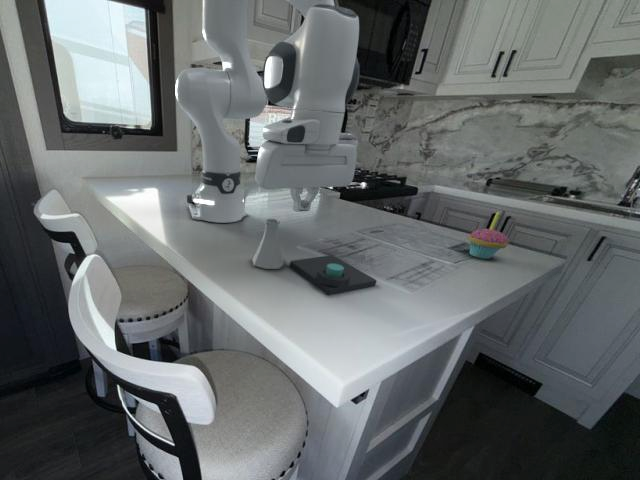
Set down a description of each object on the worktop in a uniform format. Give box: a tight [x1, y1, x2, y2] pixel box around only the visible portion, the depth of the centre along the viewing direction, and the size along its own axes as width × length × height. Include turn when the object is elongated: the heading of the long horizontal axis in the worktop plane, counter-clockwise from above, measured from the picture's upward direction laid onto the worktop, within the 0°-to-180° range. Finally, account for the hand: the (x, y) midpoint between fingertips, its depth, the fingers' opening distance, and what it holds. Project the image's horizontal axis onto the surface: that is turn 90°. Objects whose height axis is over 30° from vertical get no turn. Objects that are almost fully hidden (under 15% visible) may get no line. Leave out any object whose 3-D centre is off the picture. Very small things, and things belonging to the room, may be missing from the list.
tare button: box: [326, 264, 344, 278], centre depth 60 cm, size 3×3×2 cm
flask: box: [252, 218, 285, 270], centre depth 67 cm, size 7×7×10 cm
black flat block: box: [289, 254, 378, 296], centre depth 65 cm, size 14×12×3 cm
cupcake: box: [467, 208, 510, 260], centre depth 79 cm, size 9×8×12 cm
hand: (301, 210), depth 60 cm, fingers closed
